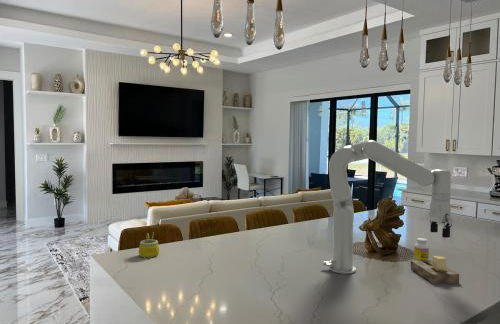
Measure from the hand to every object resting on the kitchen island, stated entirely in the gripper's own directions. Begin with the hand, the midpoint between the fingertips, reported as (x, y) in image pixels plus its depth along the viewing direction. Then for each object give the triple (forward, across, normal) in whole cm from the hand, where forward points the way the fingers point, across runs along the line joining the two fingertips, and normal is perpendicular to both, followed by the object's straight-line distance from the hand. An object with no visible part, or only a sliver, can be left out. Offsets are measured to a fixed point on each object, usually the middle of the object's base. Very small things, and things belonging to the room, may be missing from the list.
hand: (439, 234), depth 172 cm
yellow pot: (+21, -43, -138) cm, 146 cm away
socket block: (+20, -4, 0) cm, 21 cm away
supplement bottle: (+20, -21, +3) cm, 30 cm away
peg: (+20, 0, 0) cm, 20 cm away
